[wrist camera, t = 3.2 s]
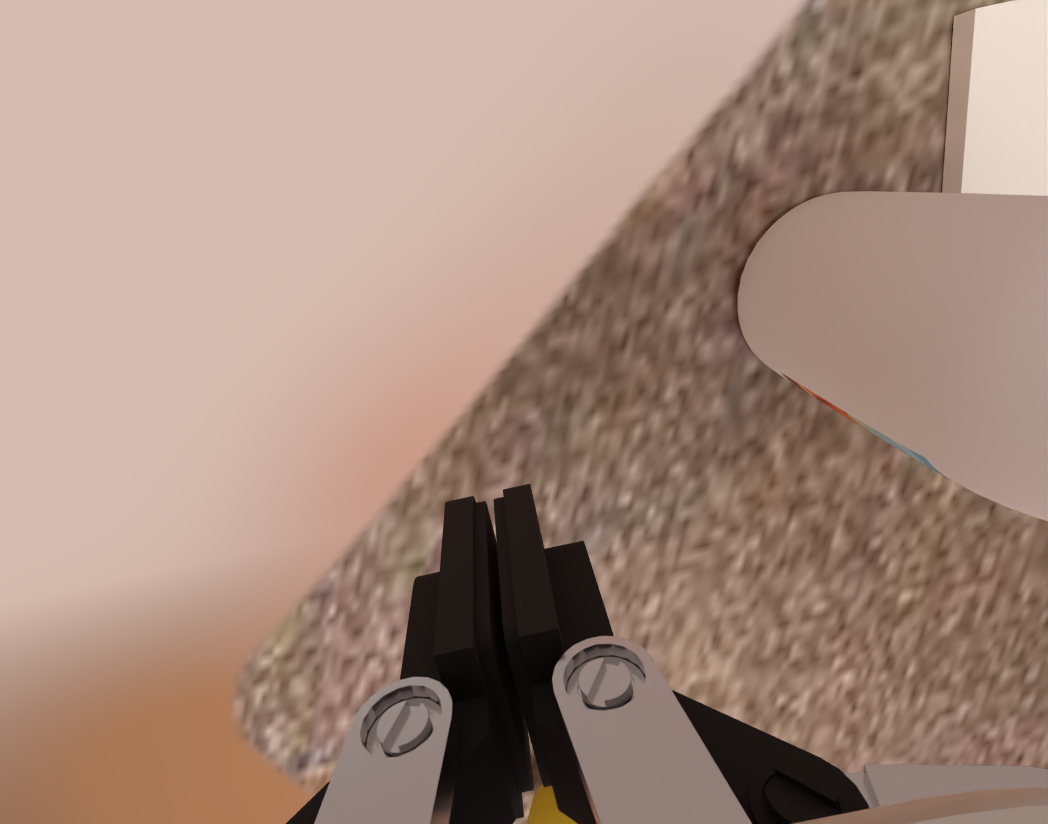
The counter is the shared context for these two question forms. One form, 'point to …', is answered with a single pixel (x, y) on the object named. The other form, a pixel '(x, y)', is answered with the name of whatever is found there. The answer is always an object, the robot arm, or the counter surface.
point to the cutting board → (998, 101)
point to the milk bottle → (917, 326)
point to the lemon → (546, 809)
